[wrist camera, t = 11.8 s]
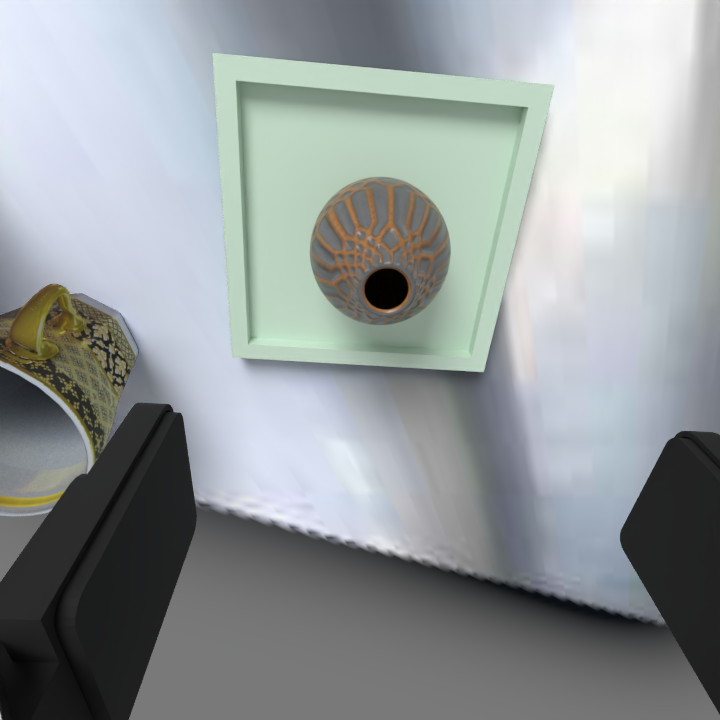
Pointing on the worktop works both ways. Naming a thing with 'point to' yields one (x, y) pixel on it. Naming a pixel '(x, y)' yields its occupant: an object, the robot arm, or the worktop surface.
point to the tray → (355, 162)
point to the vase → (380, 250)
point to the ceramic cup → (57, 394)
